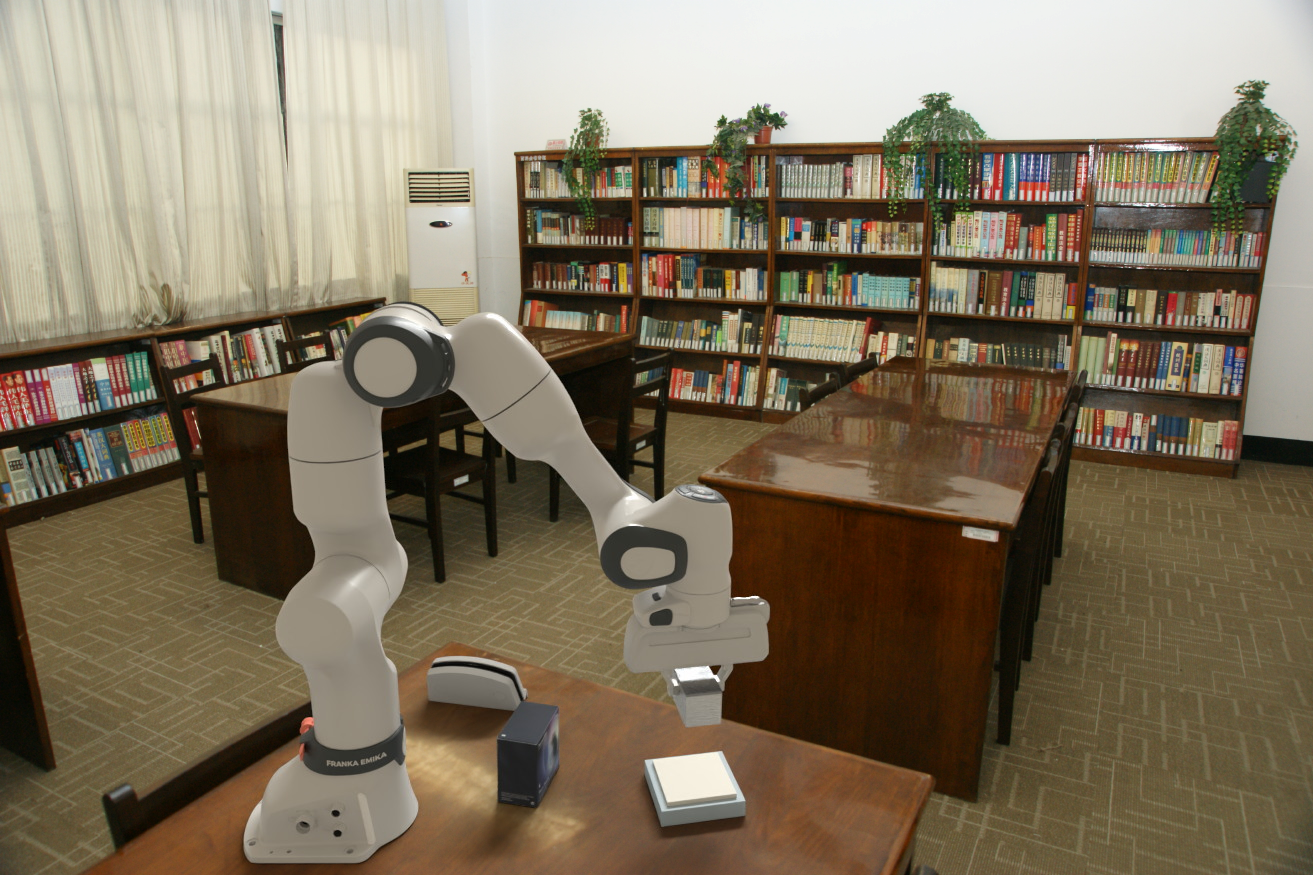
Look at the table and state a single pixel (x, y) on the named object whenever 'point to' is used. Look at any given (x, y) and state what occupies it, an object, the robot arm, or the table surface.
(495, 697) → the white slotted block
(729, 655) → the robot arm
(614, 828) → the table surface
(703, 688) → the block
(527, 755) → the small box
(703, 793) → the stand
